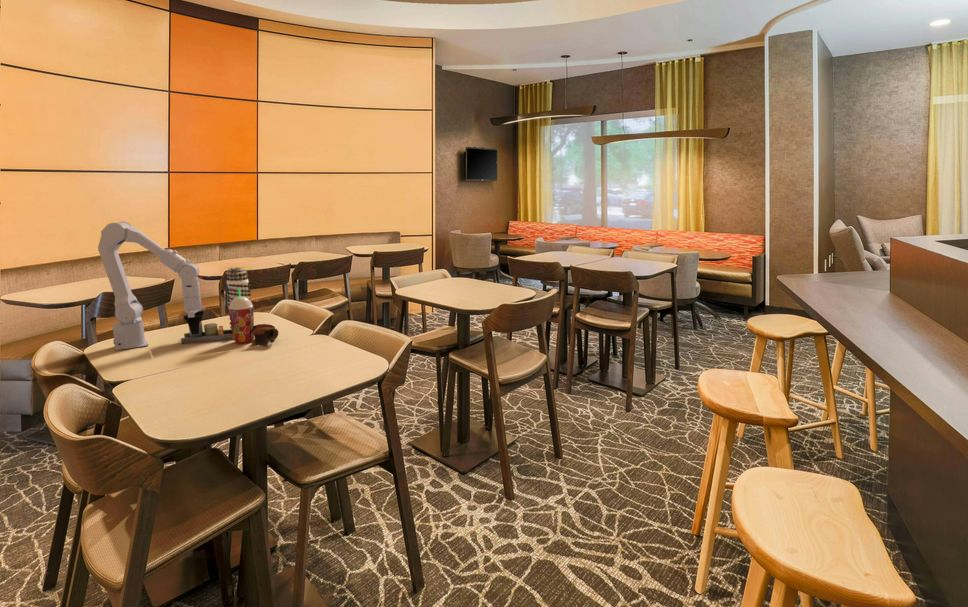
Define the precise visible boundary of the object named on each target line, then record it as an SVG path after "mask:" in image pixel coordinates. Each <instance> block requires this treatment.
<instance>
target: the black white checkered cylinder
mask: <svg viewBox="0 0 968 607" xmlns="http://www.w3.org/2000/svg"><path fill="white" fill-rule="evenodd" d="M248 272H249V271H248V270H246V269H245V268H244V267H231V268H228V269H227V270H226V272H225V274H226V286H225V290H226V291H225V293H226V294H227V295H226V301H227V303H228V304H229V305H230V303H231V301H232V300H233V299H234V298H236V297H239V292H238V289H240V292H241V296H242V297H246V298H248V299H249V300H250V301H251V302H252V299H251V298H250V297H251V296H252V293H250V292H252V290H251V289H249V288H251V284H250V283H251V281H249V278H248ZM228 317H230V315H229V314H228ZM229 325H230V326H229V328H230V330H231V329H232V326H231V321H229Z"/></svg>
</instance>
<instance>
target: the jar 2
mask: <svg viewBox="0 0 968 607" xmlns="http://www.w3.org/2000/svg"><path fill="white" fill-rule="evenodd" d="M218 328H219V327H218V324H217V323H216V322H215V323H212V322H210V323H206V324H204V325H203V332H205V336H212V335H218Z"/></svg>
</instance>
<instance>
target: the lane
mask: <svg viewBox="0 0 968 607" xmlns="http://www.w3.org/2000/svg"><path fill="white" fill-rule="evenodd" d="M223 332H224V334H223V335H212V336H205V331H203V336H200V337H190V333H189V332H188V333H186V332H185V333H184V335H183V337H181V338H180V343H181V345H187V344H188V345H190V344H195V343H196V344H198V343H209V342H221V341H222V342H223V341H231V340H233V341H234V338H233V332H232V329H231V328H230V329H223Z"/></svg>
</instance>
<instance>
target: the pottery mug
mask: <svg viewBox="0 0 968 607" xmlns="http://www.w3.org/2000/svg"><path fill="white" fill-rule="evenodd" d="M253 328H254V329H253V330H252V331H251V333H252V332H253V333H254V339H253V340H252V341H251V343H250V344H251V345H252V346H259V347H260V346H264V347H267V346H268V345H269V344H268V343H270V344H273V343H274V342H275V340H277V338H278V336H279V330H278V328H276V327H275V326H274V325H271V324H267V323H262V324H261V323H260V324H254V327H253Z"/></svg>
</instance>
